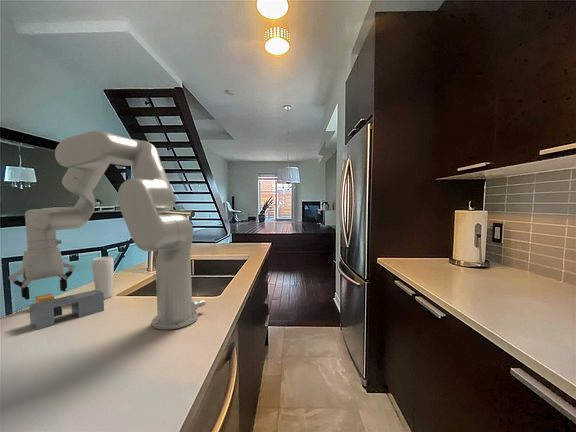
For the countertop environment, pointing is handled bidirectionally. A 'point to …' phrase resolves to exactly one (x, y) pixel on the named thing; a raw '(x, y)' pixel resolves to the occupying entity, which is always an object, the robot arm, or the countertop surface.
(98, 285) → the drinking glass
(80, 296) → the housing
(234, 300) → the countertop surface
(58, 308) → the plug
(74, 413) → the countertop surface
